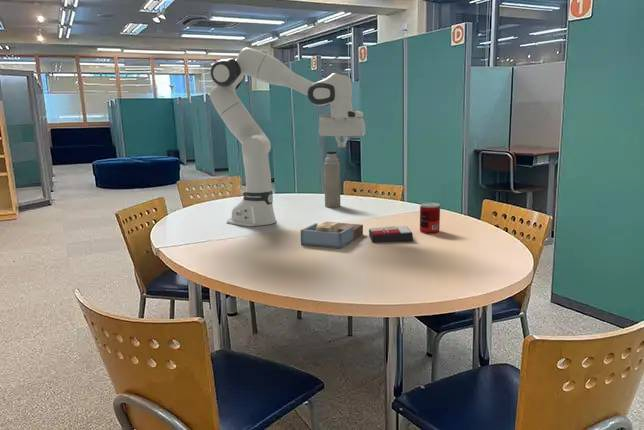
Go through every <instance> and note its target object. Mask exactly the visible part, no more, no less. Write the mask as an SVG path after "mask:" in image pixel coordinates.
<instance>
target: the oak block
mask: <svg viewBox="0 0 644 430" xmlns="http://www.w3.org/2000/svg"><path fill="white" fill-rule="evenodd" d="M333 222H334V221H333ZM333 222H332V221H324V222H323V224H322V223H320V224H321V225H320V224H319V226H318V225H317V227H316V231H323V232H334V233H338V223H339V222H336V223H333Z"/></svg>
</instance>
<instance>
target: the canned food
mask: <svg viewBox="0 0 644 430" xmlns="http://www.w3.org/2000/svg"><path fill="white" fill-rule="evenodd" d="M419 206H420V207H419V232H420V233H422V234H428V235H429V234H430V235H431V234H432V235H433V234H438V233H439V232H440V226H441V225H440V221H441V204H440V203H438V202H422V203H420V205H419Z"/></svg>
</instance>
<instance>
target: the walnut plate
mask: <svg viewBox="0 0 644 430" xmlns="http://www.w3.org/2000/svg"><path fill="white" fill-rule="evenodd" d="M323 223H324V222H323ZM323 223H320V224H319V225H321V224H323ZM333 223H338V233H340V232H341V231H343V230H345V229H347V228H349V227H350V226H353V241H352V242H354V241H355V240H357V239H358V238H360V237H362V236H363V235H364V224H360V223H348V222H346V223H345V222H336V221H335V222H334V221H333ZM319 225H318V224H317V226H319Z"/></svg>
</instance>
